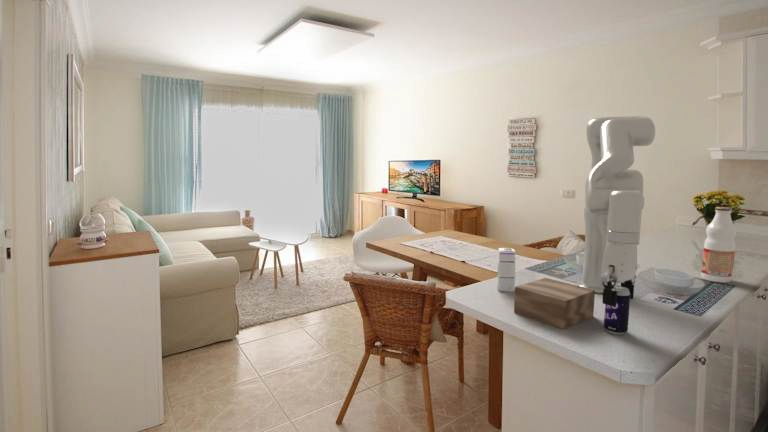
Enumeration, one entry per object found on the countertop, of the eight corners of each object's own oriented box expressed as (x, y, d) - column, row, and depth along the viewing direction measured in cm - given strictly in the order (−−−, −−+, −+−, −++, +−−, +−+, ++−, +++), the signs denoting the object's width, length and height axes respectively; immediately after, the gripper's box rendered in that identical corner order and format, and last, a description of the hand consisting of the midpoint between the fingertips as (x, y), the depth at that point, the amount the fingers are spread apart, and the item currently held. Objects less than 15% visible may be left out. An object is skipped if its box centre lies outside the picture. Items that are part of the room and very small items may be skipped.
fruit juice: (717, 283, 156) (726, 209, 153) (694, 277, 166) (701, 206, 162) (738, 282, 158) (746, 208, 155) (713, 275, 168) (721, 205, 164)
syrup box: (514, 292, 147) (516, 251, 145) (497, 291, 148) (498, 250, 146) (513, 287, 152) (514, 247, 150) (496, 286, 153) (497, 247, 151)
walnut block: (544, 301, 137) (545, 277, 136) (593, 316, 124) (595, 290, 123) (514, 312, 127) (515, 286, 126) (563, 329, 114) (565, 301, 113)
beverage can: (604, 325, 117) (608, 283, 116) (628, 330, 114) (631, 287, 112) (601, 332, 113) (605, 289, 111) (626, 337, 109) (629, 293, 108)
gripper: (622, 233, 118) (618, 292, 120) (591, 238, 107) (587, 303, 109) (652, 236, 112) (647, 299, 114) (622, 243, 101) (617, 311, 103)
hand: (618, 301), depth 112 cm, fingers open, 9 cm apart
